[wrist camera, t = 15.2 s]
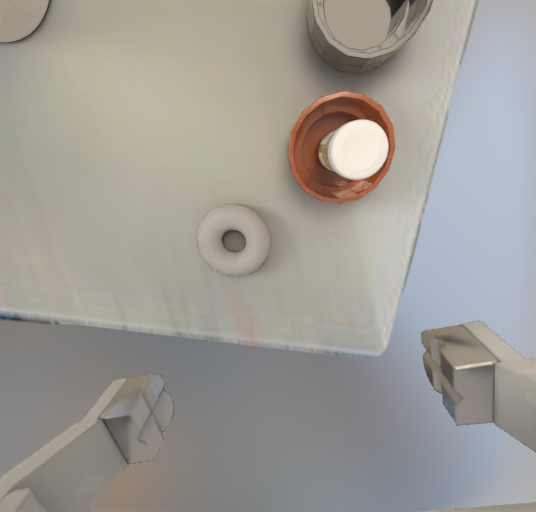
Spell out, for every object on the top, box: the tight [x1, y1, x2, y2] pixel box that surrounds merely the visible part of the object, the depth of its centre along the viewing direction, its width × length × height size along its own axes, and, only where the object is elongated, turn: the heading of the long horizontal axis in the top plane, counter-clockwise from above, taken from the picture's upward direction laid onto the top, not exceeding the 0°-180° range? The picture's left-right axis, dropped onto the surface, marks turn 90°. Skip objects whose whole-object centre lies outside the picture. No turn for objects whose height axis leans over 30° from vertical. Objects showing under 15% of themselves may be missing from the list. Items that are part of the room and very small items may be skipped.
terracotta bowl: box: [288, 91, 395, 203], centre depth 33 cm, size 11×11×6 cm
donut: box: [197, 204, 271, 276], centre depth 39 cm, size 10×4×10 cm
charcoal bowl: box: [307, 0, 433, 73], centre depth 28 cm, size 11×11×6 cm
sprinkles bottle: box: [315, 119, 389, 180], centre depth 29 cm, size 5×5×13 cm
